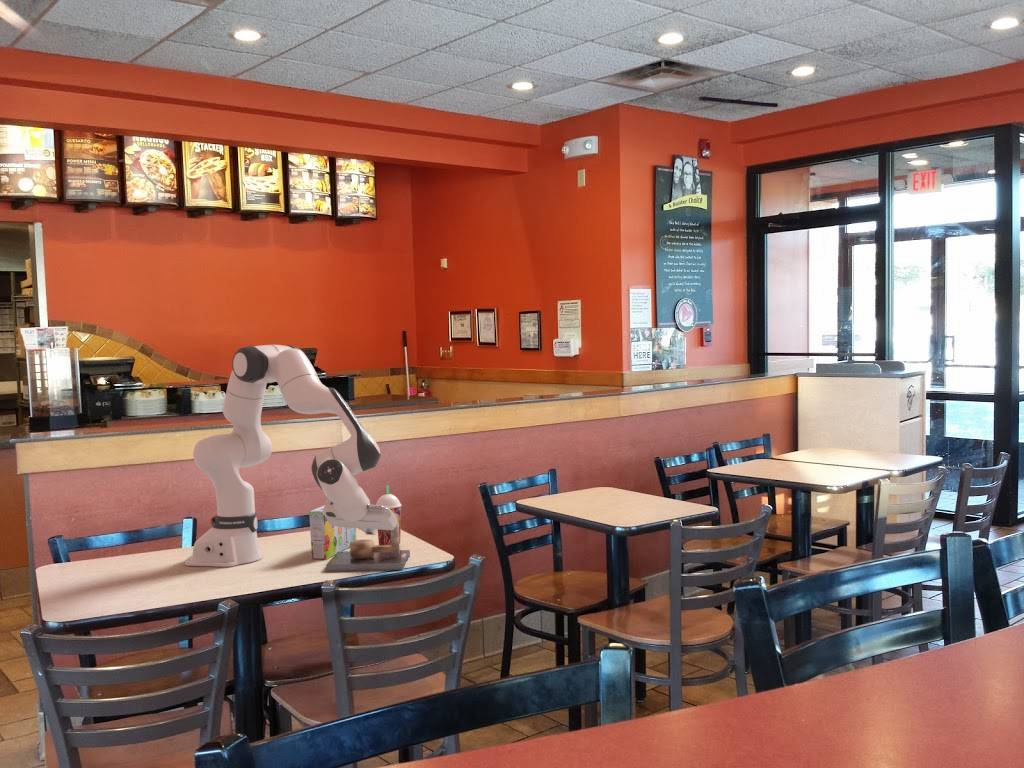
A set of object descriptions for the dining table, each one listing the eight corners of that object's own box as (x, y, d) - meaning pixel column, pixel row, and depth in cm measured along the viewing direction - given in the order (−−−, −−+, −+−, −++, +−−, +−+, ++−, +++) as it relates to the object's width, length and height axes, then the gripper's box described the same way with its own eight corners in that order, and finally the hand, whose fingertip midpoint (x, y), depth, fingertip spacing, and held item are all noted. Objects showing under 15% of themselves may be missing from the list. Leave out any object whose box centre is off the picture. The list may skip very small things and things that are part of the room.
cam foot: (347, 558, 264) (346, 516, 264) (353, 552, 271) (352, 511, 271) (398, 558, 263) (396, 515, 263) (402, 552, 270) (401, 511, 270)
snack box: (341, 543, 296) (339, 498, 295) (357, 544, 294) (355, 498, 294) (310, 559, 275) (308, 510, 275) (327, 560, 274) (325, 510, 273)
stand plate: (326, 571, 260) (326, 563, 260) (338, 558, 276) (337, 550, 276) (402, 569, 259) (402, 562, 259) (409, 556, 275) (409, 548, 275)
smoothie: (398, 551, 283) (396, 487, 282) (373, 550, 284) (370, 487, 283) (406, 545, 291) (403, 483, 290) (381, 544, 292) (378, 483, 291)
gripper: (390, 497, 244) (408, 525, 254) (325, 493, 251) (344, 521, 261) (382, 516, 240) (401, 544, 250) (316, 512, 247) (337, 539, 257)
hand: (371, 532), depth 255 cm, fingers closed
